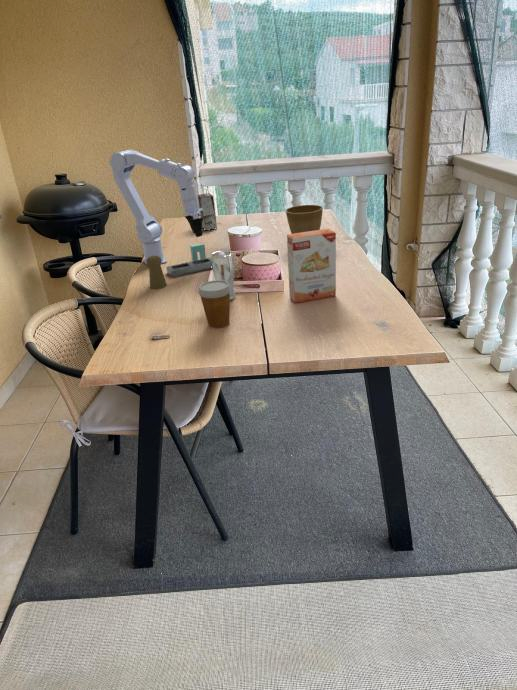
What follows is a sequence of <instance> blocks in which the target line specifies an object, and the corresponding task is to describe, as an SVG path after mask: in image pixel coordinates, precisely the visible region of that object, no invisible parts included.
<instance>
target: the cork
mask: <svg viewBox="0 0 517 690" xmlns="http://www.w3.org/2000/svg"><path fill="white" fill-rule="evenodd" d="M161 262H162V261H161V258H160V257H159V256H150V257H148V258H147V264H146V266H148V272H149V274H148V275H149V288H150V289H152V290H159V288H160V289H164V288H166V287H167V282H166V278H165V274H164V272H163V269H162V263H161Z"/></svg>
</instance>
